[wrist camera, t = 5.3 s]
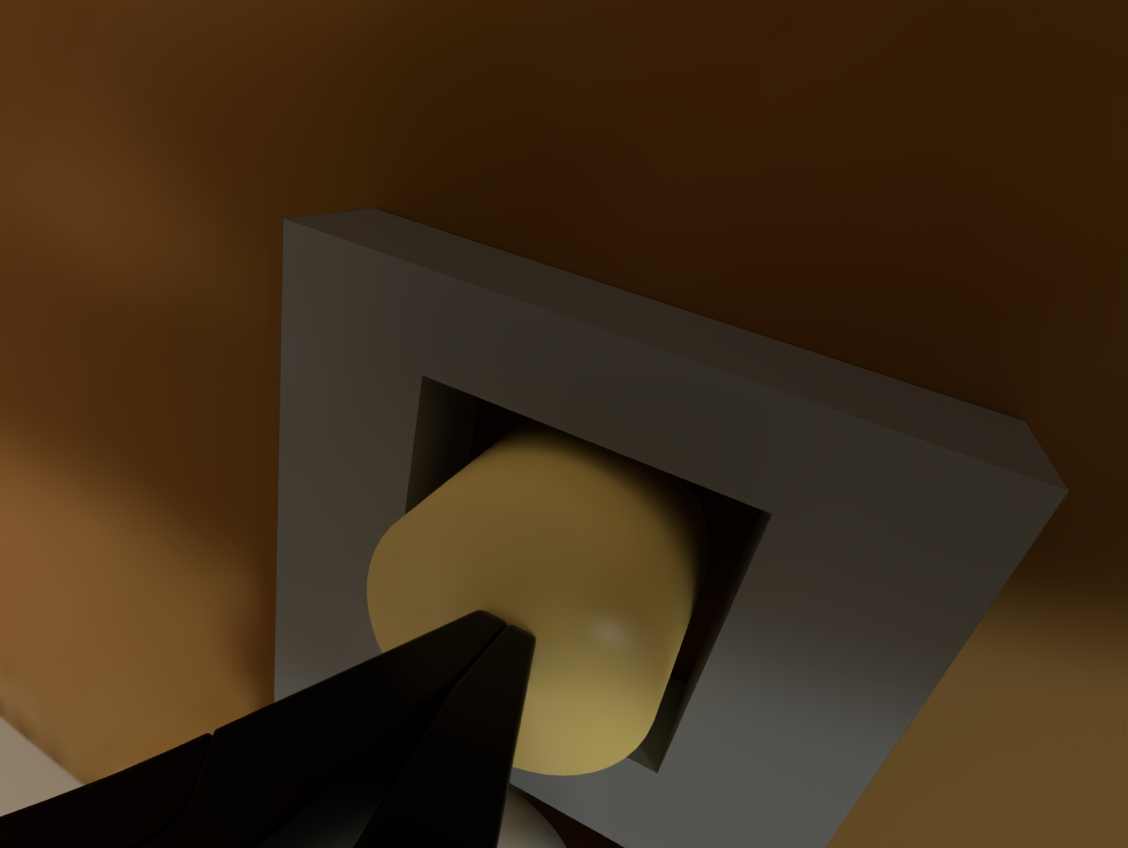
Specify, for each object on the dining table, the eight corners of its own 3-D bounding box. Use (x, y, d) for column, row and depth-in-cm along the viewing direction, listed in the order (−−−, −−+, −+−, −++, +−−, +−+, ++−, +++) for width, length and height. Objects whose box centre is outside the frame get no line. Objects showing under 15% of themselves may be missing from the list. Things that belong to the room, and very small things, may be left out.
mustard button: (747, 474, 10) (706, 593, 7) (666, 675, 11) (610, 826, 9) (495, 377, 11) (379, 449, 8) (459, 575, 13) (356, 684, 10)
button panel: (1025, 421, 8) (1068, 490, 7) (606, 1107, 18) (579, 1206, 17) (373, 208, 11) (282, 218, 9) (317, 912, 21) (268, 980, 19)
